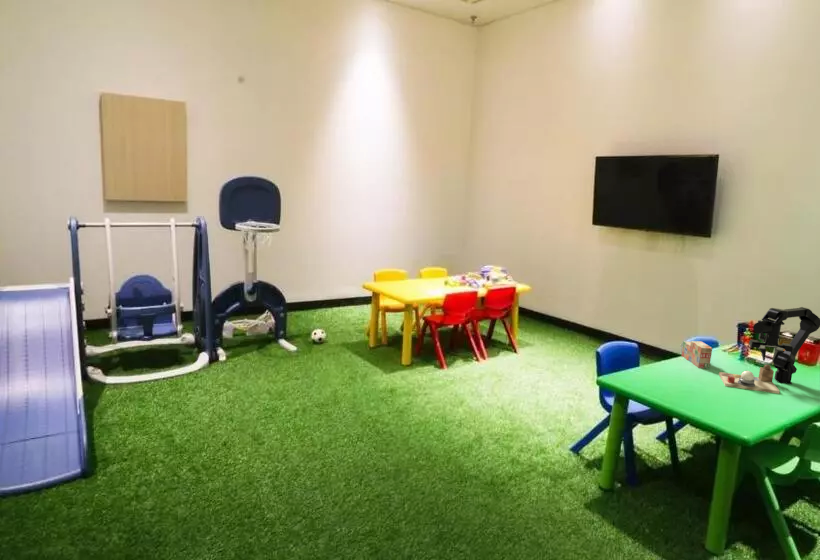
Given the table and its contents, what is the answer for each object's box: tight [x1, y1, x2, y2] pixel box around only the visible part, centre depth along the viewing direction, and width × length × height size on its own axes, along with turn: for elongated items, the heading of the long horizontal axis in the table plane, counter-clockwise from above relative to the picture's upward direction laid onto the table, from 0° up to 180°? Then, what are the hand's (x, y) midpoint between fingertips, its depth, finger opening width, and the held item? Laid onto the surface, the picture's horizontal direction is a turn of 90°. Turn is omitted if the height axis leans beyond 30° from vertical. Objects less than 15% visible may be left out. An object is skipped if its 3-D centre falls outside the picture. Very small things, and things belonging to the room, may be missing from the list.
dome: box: [739, 370, 755, 384], centre depth 277 cm, size 7×7×6 cm
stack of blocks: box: [681, 340, 713, 369], centre depth 314 cm, size 21×6×12 cm, turn 178°
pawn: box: [758, 364, 775, 382], centre depth 284 cm, size 5×5×8 cm
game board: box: [718, 371, 781, 395], centre depth 282 cm, size 24×18×4 cm
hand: (768, 361), depth 283 cm, fingers open, 4 cm apart
